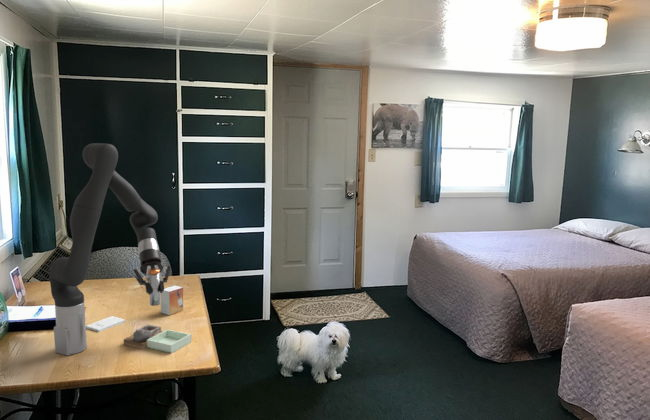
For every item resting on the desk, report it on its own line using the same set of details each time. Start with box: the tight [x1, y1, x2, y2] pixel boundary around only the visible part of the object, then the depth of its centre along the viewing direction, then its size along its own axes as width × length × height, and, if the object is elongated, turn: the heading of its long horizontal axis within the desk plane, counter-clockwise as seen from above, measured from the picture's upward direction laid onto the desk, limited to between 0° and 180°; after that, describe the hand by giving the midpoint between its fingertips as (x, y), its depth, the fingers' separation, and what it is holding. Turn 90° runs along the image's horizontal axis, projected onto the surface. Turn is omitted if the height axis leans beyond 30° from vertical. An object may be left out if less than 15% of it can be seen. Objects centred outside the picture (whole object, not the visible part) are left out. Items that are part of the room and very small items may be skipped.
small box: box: [160, 285, 184, 316], centre depth 219 cm, size 8×6×10 cm
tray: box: [146, 329, 192, 354], centre depth 186 cm, size 11×11×3 cm
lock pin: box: [148, 269, 161, 307], centre depth 188 cm, size 4×4×13 cm
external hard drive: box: [86, 315, 126, 333], centre depth 204 cm, size 2×8×12 cm
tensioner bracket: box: [123, 324, 164, 350], centre depth 189 cm, size 12×9×5 cm
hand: (155, 292), depth 186 cm, fingers closed on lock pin, 3 cm apart
